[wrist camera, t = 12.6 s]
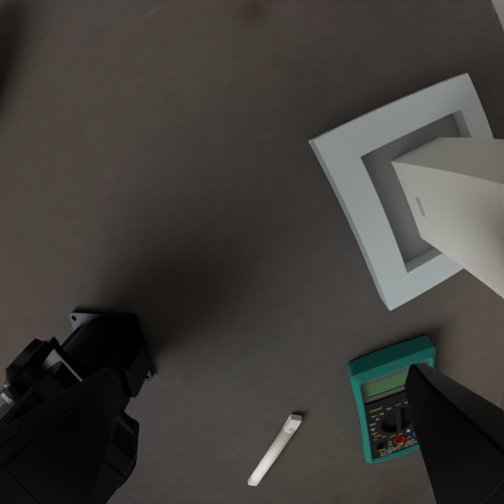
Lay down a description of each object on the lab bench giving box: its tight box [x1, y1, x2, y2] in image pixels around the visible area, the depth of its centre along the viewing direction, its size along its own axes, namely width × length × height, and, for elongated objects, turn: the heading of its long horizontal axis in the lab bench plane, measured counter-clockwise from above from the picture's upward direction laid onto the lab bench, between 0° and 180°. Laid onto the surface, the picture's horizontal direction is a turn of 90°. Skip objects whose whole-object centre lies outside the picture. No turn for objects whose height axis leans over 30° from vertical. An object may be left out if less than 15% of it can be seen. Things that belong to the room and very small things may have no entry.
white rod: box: [248, 414, 302, 486], centre depth 27 cm, size 13×1×1 cm, turn 163°
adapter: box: [391, 137, 504, 298], centre depth 12 cm, size 4×6×13 cm
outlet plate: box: [308, 73, 494, 311], centre depth 18 cm, size 12×12×2 cm
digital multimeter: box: [347, 336, 436, 463], centre depth 24 cm, size 7×15×3 cm, turn 19°
